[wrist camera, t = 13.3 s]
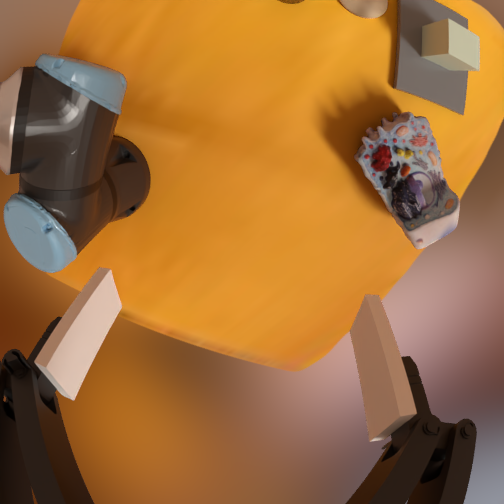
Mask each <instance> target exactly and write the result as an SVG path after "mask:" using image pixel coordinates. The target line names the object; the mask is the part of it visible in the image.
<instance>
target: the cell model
mask: <svg viewBox="0 0 504 504" xmlns="http://www.w3.org/2000/svg"><path fill="white" fill-rule="evenodd" d="M392 115H393V118H394V120H393V122H389V121H388V120H387V119H386V118H385V117H384V118H382V119H381V122H382V127H381V126H378V127H377V131H374V130H373V129H372V128H371V127H369V128H368V129H367V130H366V133H367V135H368V137H369V138H367V137H362V142H363V143H364V144H363V145H362V146H361V147H360V148H359V149H358V151H357V154H355V155H354V159H355V160H356V161H357V162H358V163H359V164H360V165H361V167H362V170H363V173H364V175H365V176H366V177H367V178H368V179H369V180H370V181H371V182H372V185H373V187H374V189H376V190H377V192H378V193H379V194H380V196H381V198H382V200H383V201H384V203H385V205H386V208H387V209H388V211H389V212H391V213H392V216H393V217H394V219H395V220H396V222H397V224H398V225H399V226H400V227H401V228H402V229H403V231H404V233H405V235H406V236H407V238H408V239H409V240H410V241H411V242H412V244H413V246H414V247H415V248H416V249H422V248H424V247H426V246H428V245H430V244H432V243H434V242H435V241H437V240H439V239H441V238H442V237H444V236H446V235H448V234H449V233H450V232H452V231H453V230H454V229H455V228H456V227H457V223H458V216H459V209H460V201H459V198H458V196H457V195H456V194H455V193H454V192H453V191H452V190H451V189H450V188H449V186H448V184H447V181H446V179H445V178H443V172H442V168H441V158H440V157H439V156H440V151H439V150H438V147H437V144H436V140H435V138H434V137H433V135H432V131H431V129H430V125H429V122H428V120H427V119H426V117H422V116H418V117H416V116H413V114H412V113H411V112H404V113H401V114H400V116H398V115H397V113H395V112H394V113H392Z"/></svg>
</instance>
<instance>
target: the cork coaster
mask: <svg viewBox="0 0 504 504" xmlns="http://www.w3.org/2000/svg"><path fill="white" fill-rule="evenodd" d="M339 1H340V3H341V4H342V5H343V6H344V7H345V8H346V9H347V10H348V11H349V12H351V13H353V14H354V15H356V16H359V17H362V18H368V19H372V18H377V17H379V16H381V15H383V14H384V13H385V12H386V10H387V6H388V2H387V0H339Z"/></svg>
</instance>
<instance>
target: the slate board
mask: <svg viewBox="0 0 504 504" xmlns="http://www.w3.org/2000/svg"><path fill="white" fill-rule="evenodd" d="M448 18H449V19H450V20H452V21H454V22H456V23H457V24H459V25H461V26H463V27H464V28H466V29H468V19H466V18H464V17H463V16H461V15H460V14H458V13H456V12H454V11H453V10H451V9H449V8H447V7H445V6H444V5H442V4H440V3H438V2H436V1H434V0H398V29H397V51H396V65H395V76H394V86H393V88H394V89H397V90H400V91H403V92H406V93H409V94H412V95H414V96H417V97H420V98H422V99H425V100H428V101H430V102H433V103H435V104H437V105H440V106H442V107H444V108H447V109H449V110H451V111H453V112H456V113H458V114H460V115H464V108H465V100H466V90H467V78H468V71H460V70H448V69H446V68H444V67H442V66H440V65H438V64H436V63H434V62H432V61H429V60H427V59H425V58H422V57H421V55H422V26H425V25H428V24H431V23H434V22H438V21H441V20H444V19H448Z"/></svg>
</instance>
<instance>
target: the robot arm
mask: <svg viewBox="0 0 504 504" xmlns="http://www.w3.org/2000/svg"><path fill="white" fill-rule="evenodd" d="M35 65H36V66H34V67H20V68H19V69H18V70H17V71H16V72H15V73H14V74H13V75H12V76H10V77H9V78H8V79H7V80H6V81H4V82H0V169H1V170H3V171H4V173H6V174H7V175H9V174H15V173H20V178H19V192H18V193H15V194H13V195H12V196H11V197H10V199H9V200H8V202H7V203H6V205H5V207H4V222H5V226H6V229H7V232H8V234H9V236H10V239H11V240H12V242H13V244H14V245H15V247H16V248H17V250H18V251H19V252H20V254H21V255H22V256H23V257H24V258H25V259H26V260H27V261H28V262H29V263H31V264H32V265H33V266H35V267H36V268H38V269H40V270H42V271H45V272H49V273H54V272H57V271H61V270H62V269H63V268H64V267H66V266H67V265H68V264H69V263H70V262H72V261H73V260H75V258H76V256H77V255H78V254H79V253H80V251H81V250H82V249H83V248H84V247H85V246H86V245H87V244H88V243H89V242H90V241H91V240H92V239H93V238H94V237H95V236H96V235H97V234H98V233H99V232H100V231H101V230H102V229H103V228H104V227H105V226H106V225H107V224H108V223H110V222H113V221H116V220H120V219H123V218H126V217H128V216H130V215H131V214H133V213H134V212H135V211H136V210H137V209H138V208H139V207H140V206H141V205H142V204H143V203H144V201H145V200H146V198H147V196H148V193H149V189H150V171H149V167H148V164H147V161H146V159H145V157H144V155H143V154H142V152H141V151H140V150H139V149H138V148H137V147H136V146H135V145H134V144H133V143H132V142H130V141H128V140H126V139H124V138H121V137H116V136H113V134H114V130H115V127H116V123H117V120H118V117H119V115H120V114H121V105H122V101H123V98H124V94H125V91H126V87H127V81H126V78H125V77H124V75H123V74H122V73H120V72H118V71H116V70H113V69H111V68H108V67H105V66H101V65H98V64H95V63H91V62H87V61H83V60H79V59H75V58H70V57H65V56H59V55H52V54H42V55H41V56H40V57H39V58H38V60H37V61H36V63H35ZM121 308H122V305H121V302H120V299H119V296H118V292H117V289H116V286H115V283H114V279H113V276H112V272H111V269H107V268H100V267H99V269H98V270H97V271H96V272H95V274H94V275H93V276H92V277H91V279H90V280H89V281H88V283H87V284H86V285H85V287H84V288H83V289H82V291H81V292H80V293H79V295H78V296H77V297H76V299H75V300H74V302H73V303H72V304H71V306H70V307H69V309H68V310H67V311H66V313H65V314H64V316H63V317H57V318H56V319H55V320H54V321H52V322H51V323H50V325H49V326H48V328H47V329H46V332H44V334H43V335H42V338H40V340H39V342H38V343H37V345H36V346H35V348H34V349H33V351H32V353H31V354H30V356H29V358H28V359H27V360H26V358H25V357H24V356H23V354H22V353H21V352H20V351H19V350H17V349H12V350H10V351H8V352H7V353H6V354H5V355H4V357H3V359H2V362H1V361H0V504H34V501H33V495H32V489H33V492H34V495H35V498H36V500H37V503H38V504H94V502H93V500H92V498H91V496H90V494H89V492H88V490H87V487H86V485H85V483H84V480H83V478H82V476H81V473H80V471H79V468H78V466H77V463H76V460H75V458H74V455H73V452H72V449H71V446H70V443H69V440H68V437H67V434H66V430H65V427H64V423H63V420H62V416H61V412H60V408H59V404H58V399H57V396H56V394H55V391H56V390H58V391H59V392H60V393H61V394H62V395H63V396H65V397H67V398H69V399H72V400H74V399H75V397H76V395H77V393H78V391H79V388H80V386H81V384H82V382H83V380H84V378H85V376H86V374H87V372H88V370H89V367H90V365H91V363H92V361H93V360H94V358H95V356H96V354H97V352H98V350H99V348H100V346H101V344H102V342H103V340H104V338H105V337H106V335H107V333H108V331H109V329H110V327H111V325H112V324H113V322H114V320H115V318H116V317H117V315H118V313H119V311H120V310H121ZM350 334H351V339H352V343H353V348H354V352H355V358H356V362H357V368H358V373H359V378H360V384H361V389H362V395H363V401H364V407H365V414H366V421H367V428H368V435H369V441H377V440H383V439H386V438H387V437H388V436H390V435H391V438H392V440H391V441H390V442H388V443H387V444H386V445H384V447H382V449H385V448H386V449H385V451H384V452H383V454H382V456H381V457H380V458H379V460H378V461H377V463H376V464H375V466H374V467H373V469H372V470H371V472H370V473H369V474H368V476H367V477H366V478H365V480H364V481H363V483H362V484H361V485H360V486H359V488H358V489H357V490H356V492H355V493H354V494H353V495H352V497H351V498H350V499H349V500H348V501H347V503H346V504H405V503H406V502H407V500H408V502H407V504H463V503H464V499H465V495H466V492H467V488H468V483H469V478H470V474H471V469H472V463H473V457H474V450H475V442H476V433H477V432H476V427H475V424H474V423H473V422H472V421H471V420H469V419H463V420H461V421H459V422H458V423H457V424H452V423H444V422H441V421H440V420H439V418H437V417H436V416H435V415H432V414H431V411H430V408H429V405H428V401H427V397H426V394H425V391H424V387H423V384H422V381H421V378H420V376H419V371H418V368H417V366H416V364H415V362H414V361H413V360H412V359H411V357H410V356H406V357H401V355H400V352H399V350H398V346H397V343H396V340H395V337H394V334H393V332H392V329H391V326H390V324H389V321H388V318H387V315H386V313H385V310H384V307H383V305H382V302H381V300H380V297H379V295H365V297H364V299H363V302H362V304H361V307H360V309H359V311H358V314H357V316H356V318H355V321H354V323H353V325H352V328H351V330H350ZM4 396H5V397H6V401H5V402H4V401H3V398H4ZM31 486H32V489H31ZM408 498H409V499H408Z"/></svg>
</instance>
